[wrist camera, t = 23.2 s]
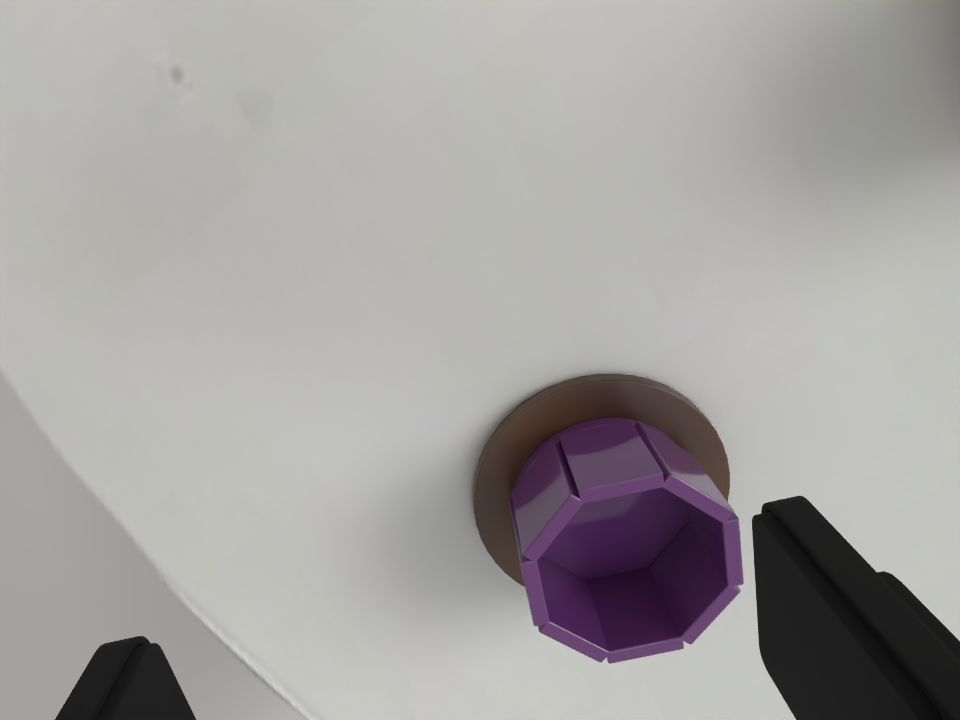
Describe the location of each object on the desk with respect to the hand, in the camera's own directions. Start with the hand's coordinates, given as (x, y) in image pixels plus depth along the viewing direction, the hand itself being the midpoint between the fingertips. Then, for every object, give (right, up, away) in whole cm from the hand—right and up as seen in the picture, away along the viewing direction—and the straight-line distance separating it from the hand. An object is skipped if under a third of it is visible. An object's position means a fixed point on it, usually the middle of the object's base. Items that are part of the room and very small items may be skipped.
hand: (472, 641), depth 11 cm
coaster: (+4, 0, +14) cm, 14 cm away
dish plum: (+4, -1, +13) cm, 14 cm away
